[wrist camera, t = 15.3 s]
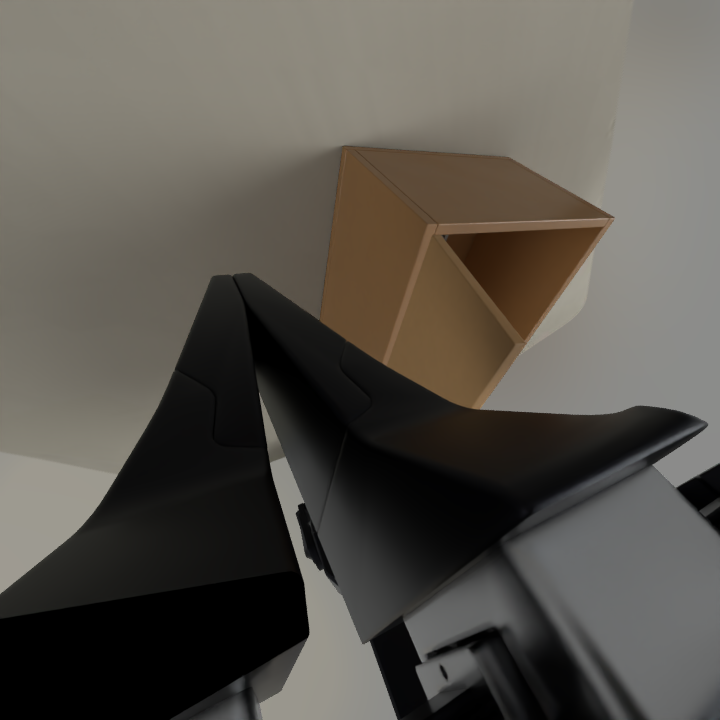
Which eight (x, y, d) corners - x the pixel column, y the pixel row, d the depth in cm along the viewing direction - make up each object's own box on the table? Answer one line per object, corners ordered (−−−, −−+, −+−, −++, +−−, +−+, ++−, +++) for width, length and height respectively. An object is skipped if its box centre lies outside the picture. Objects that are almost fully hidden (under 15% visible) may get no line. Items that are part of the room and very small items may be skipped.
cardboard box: (434, 328, 34) (489, 396, 29) (315, 349, 29) (357, 436, 24) (509, 156, 23) (616, 218, 19) (342, 145, 19) (427, 224, 14)
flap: (391, 535, 20) (384, 536, 20) (364, 443, 24) (359, 444, 24) (526, 343, 10) (515, 344, 9) (441, 234, 13) (431, 234, 13)
